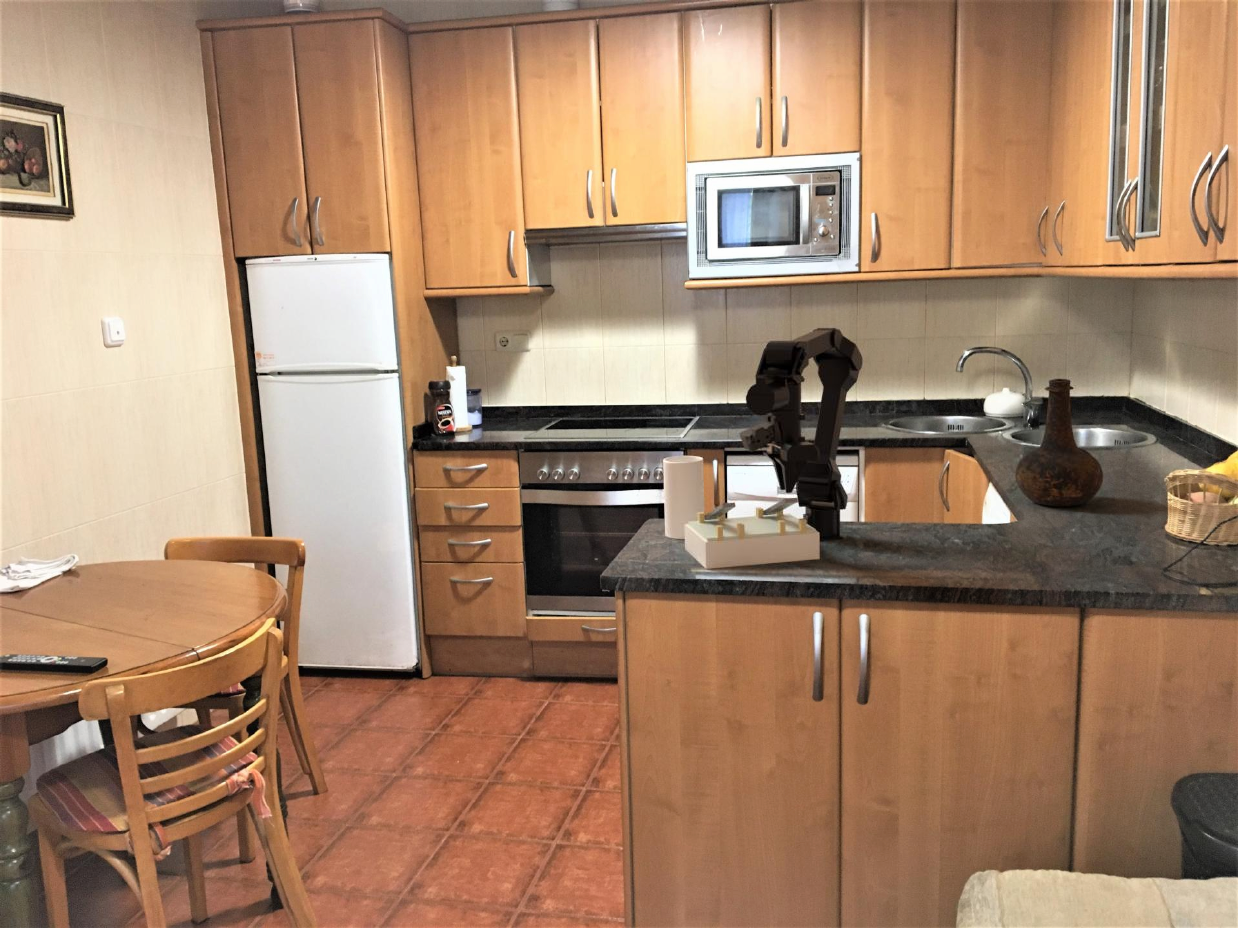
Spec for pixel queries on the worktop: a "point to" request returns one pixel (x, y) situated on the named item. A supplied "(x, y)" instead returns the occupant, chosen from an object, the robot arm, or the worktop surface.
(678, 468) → the cup
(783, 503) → the strap
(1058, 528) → the worktop surface
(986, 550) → the worktop surface
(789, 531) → the storage box
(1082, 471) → the glass bottle
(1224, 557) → the worktop surface
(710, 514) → the strap
